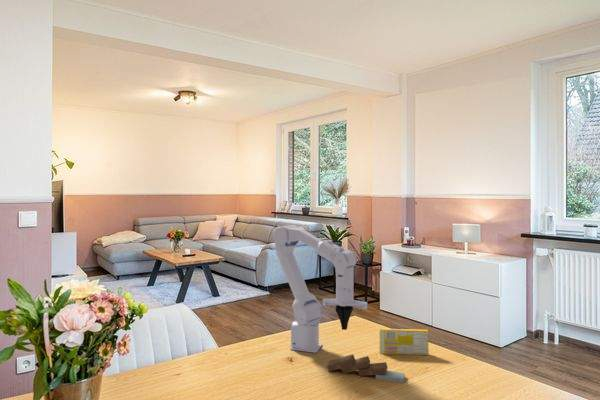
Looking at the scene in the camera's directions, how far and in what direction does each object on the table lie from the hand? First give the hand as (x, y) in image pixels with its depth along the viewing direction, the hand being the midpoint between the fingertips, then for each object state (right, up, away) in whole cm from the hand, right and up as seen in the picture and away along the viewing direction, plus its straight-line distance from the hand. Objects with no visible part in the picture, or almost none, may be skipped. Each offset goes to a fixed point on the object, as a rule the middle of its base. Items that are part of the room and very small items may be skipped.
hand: (344, 328), depth 135 cm
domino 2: (-1, -9, -9) cm, 13 cm away
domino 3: (+4, -9, -11) cm, 14 cm away
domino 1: (-5, -9, -8) cm, 13 cm away
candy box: (+21, -10, +5) cm, 23 cm away
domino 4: (+8, -10, -12) cm, 18 cm away
